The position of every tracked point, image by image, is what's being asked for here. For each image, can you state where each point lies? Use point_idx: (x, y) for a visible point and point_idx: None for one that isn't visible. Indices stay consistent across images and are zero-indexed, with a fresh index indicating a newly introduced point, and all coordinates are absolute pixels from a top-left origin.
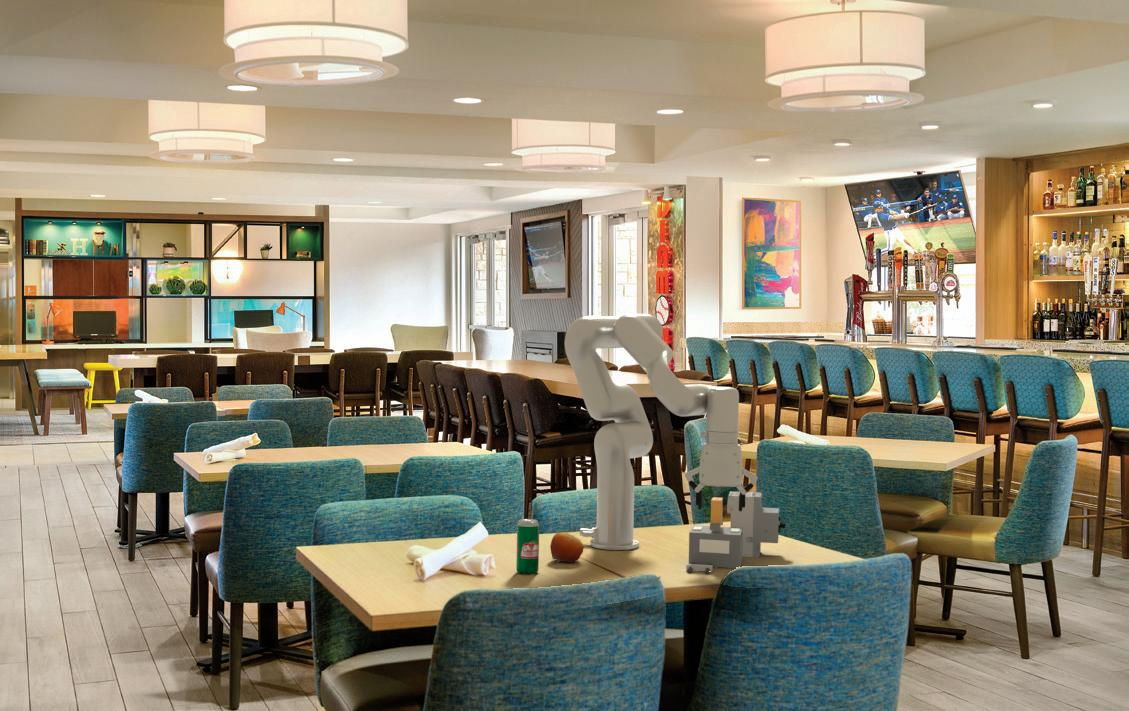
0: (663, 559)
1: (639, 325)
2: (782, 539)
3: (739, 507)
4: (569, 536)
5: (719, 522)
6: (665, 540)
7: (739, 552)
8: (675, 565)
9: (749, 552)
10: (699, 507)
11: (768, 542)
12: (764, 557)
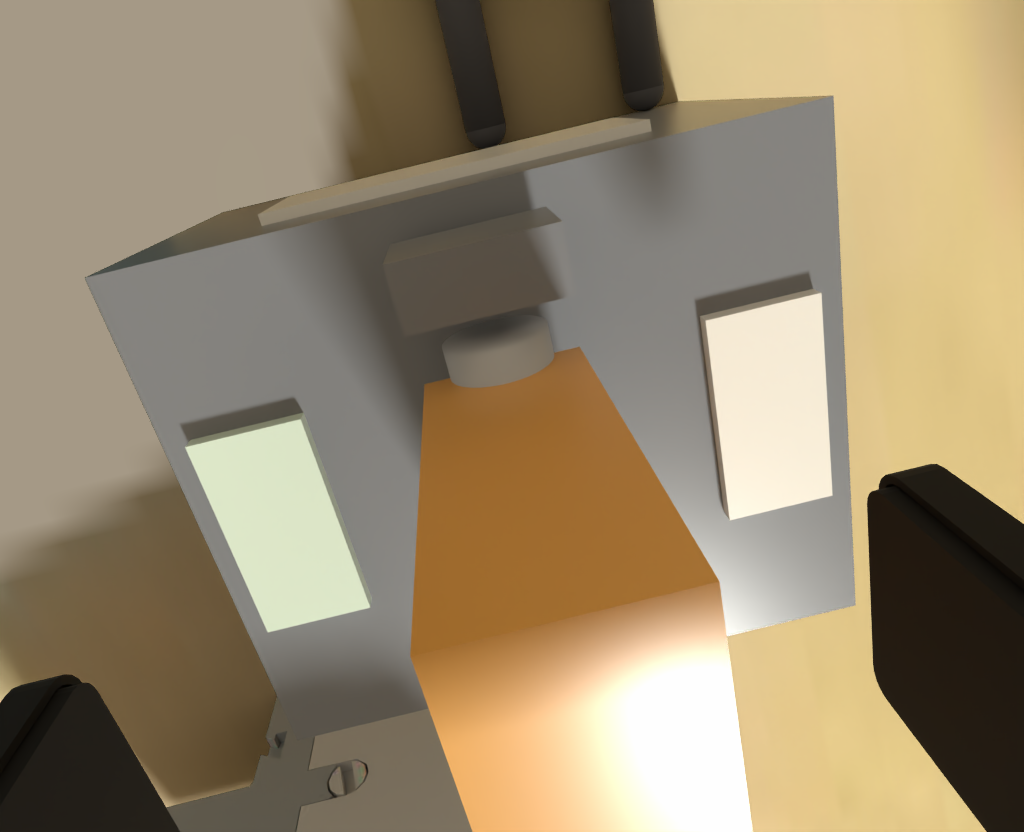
0: (932, 265)
1: None
2: None
3: (32, 733)
4: None
5: (444, 398)
6: None
7: (176, 234)
8: (795, 63)
9: None
10: (922, 475)
11: (180, 806)
12: (246, 708)
